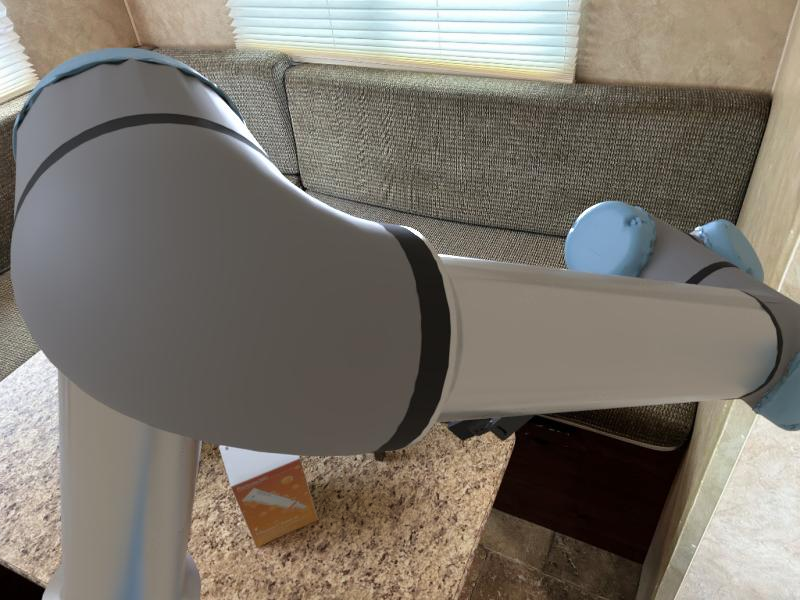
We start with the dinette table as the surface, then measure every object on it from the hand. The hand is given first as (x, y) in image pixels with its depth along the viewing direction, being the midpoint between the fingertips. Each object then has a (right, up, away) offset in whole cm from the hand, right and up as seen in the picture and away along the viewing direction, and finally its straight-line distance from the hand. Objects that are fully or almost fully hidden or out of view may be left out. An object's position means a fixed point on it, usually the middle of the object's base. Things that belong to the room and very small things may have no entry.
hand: (467, 391), depth 78 cm
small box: (-24, -15, -2) cm, 28 cm away
